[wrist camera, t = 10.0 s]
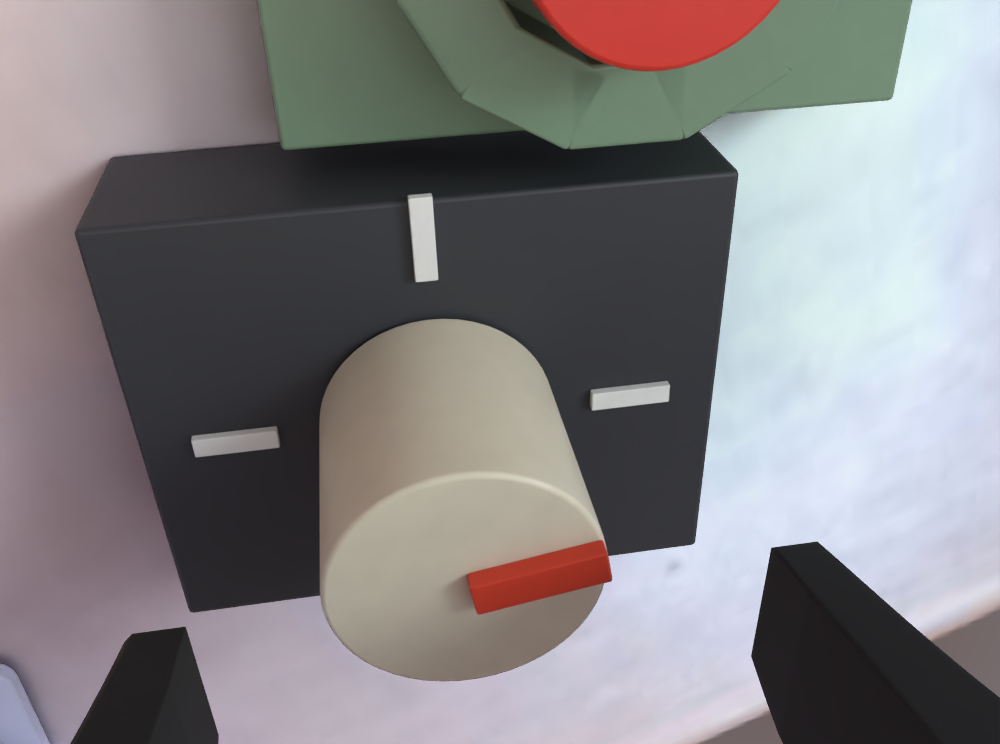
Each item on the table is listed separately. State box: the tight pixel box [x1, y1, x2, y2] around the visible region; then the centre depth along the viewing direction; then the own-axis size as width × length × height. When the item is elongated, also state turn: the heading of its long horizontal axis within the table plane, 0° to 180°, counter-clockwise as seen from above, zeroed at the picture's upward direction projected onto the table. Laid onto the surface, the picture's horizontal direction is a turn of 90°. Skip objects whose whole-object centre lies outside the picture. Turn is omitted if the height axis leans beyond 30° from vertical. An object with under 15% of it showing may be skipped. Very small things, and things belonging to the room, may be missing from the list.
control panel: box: [75, 130, 738, 612], centre depth 18 cm, size 10×8×3 cm
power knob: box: [319, 319, 612, 681], centre depth 15 cm, size 4×4×4 cm
